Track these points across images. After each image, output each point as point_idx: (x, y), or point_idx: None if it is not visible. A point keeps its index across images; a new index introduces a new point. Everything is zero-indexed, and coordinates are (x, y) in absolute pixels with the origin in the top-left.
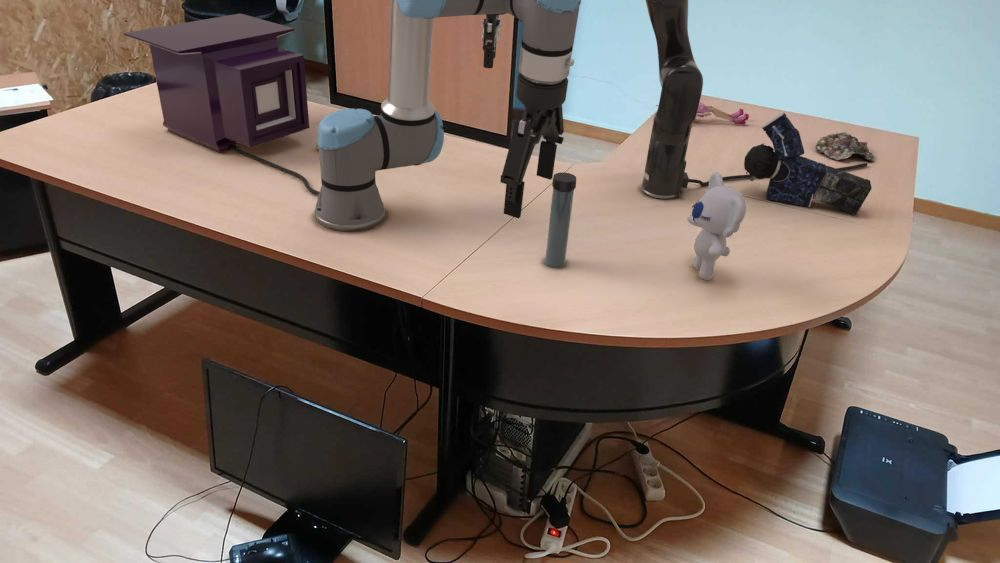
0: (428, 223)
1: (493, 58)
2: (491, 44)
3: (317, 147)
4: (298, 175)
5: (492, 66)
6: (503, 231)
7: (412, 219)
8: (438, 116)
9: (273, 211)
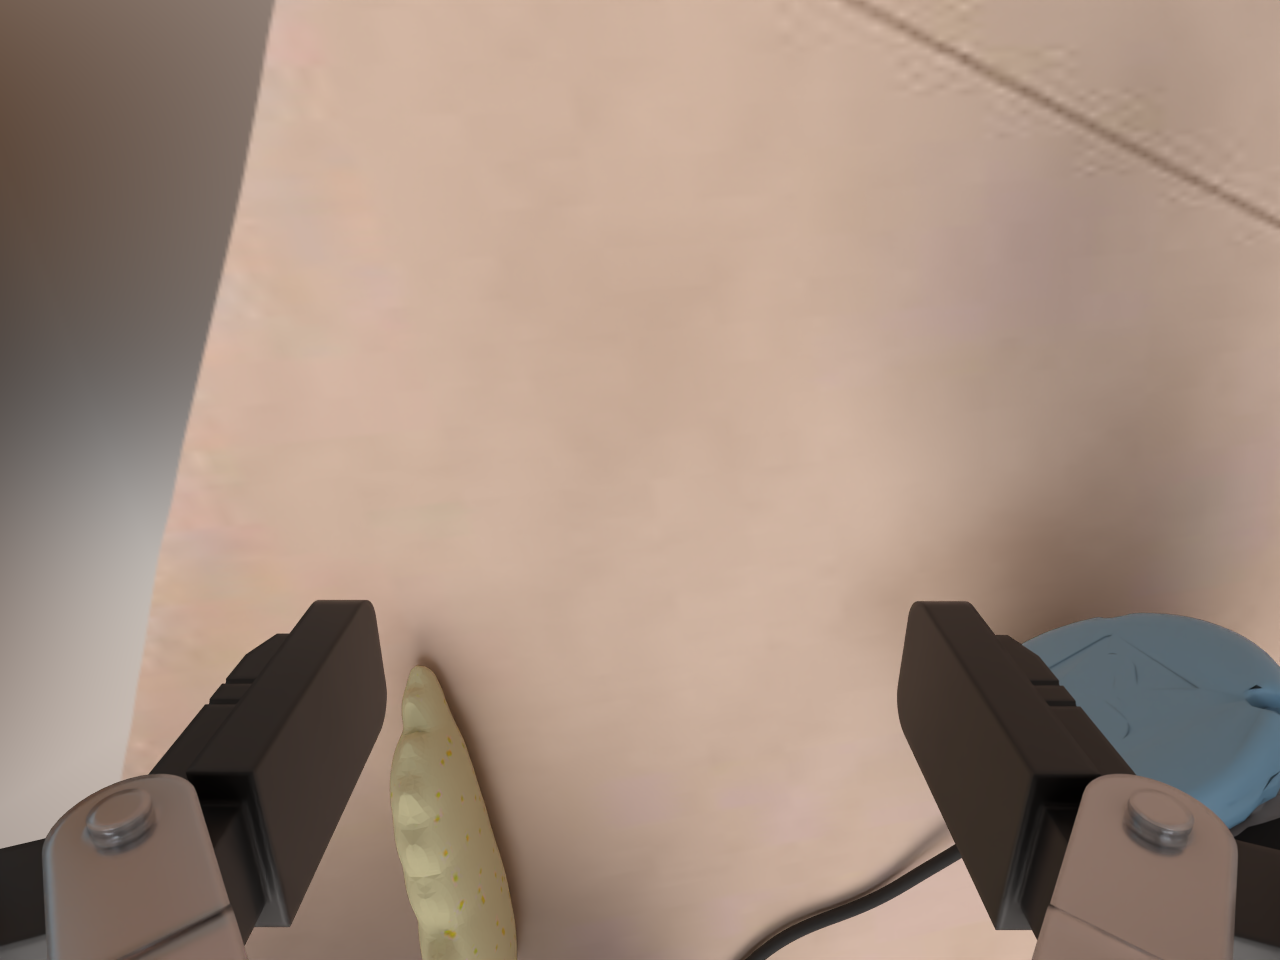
0: (1131, 500)
1: (1000, 681)
2: (288, 820)
3: (516, 957)
4: (773, 953)
5: (971, 612)
6: (1236, 170)
7: (1092, 562)
8: (1264, 778)
9: (1020, 945)
